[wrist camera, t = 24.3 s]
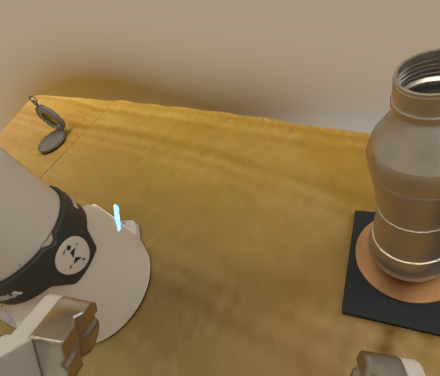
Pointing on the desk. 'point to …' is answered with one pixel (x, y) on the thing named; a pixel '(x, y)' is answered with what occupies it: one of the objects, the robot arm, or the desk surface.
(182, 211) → the desk surface
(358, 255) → the copper coaster
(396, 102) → the plastic bottle
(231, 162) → the desk surface
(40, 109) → the pocket watch
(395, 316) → the desk mat
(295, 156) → the desk surface
